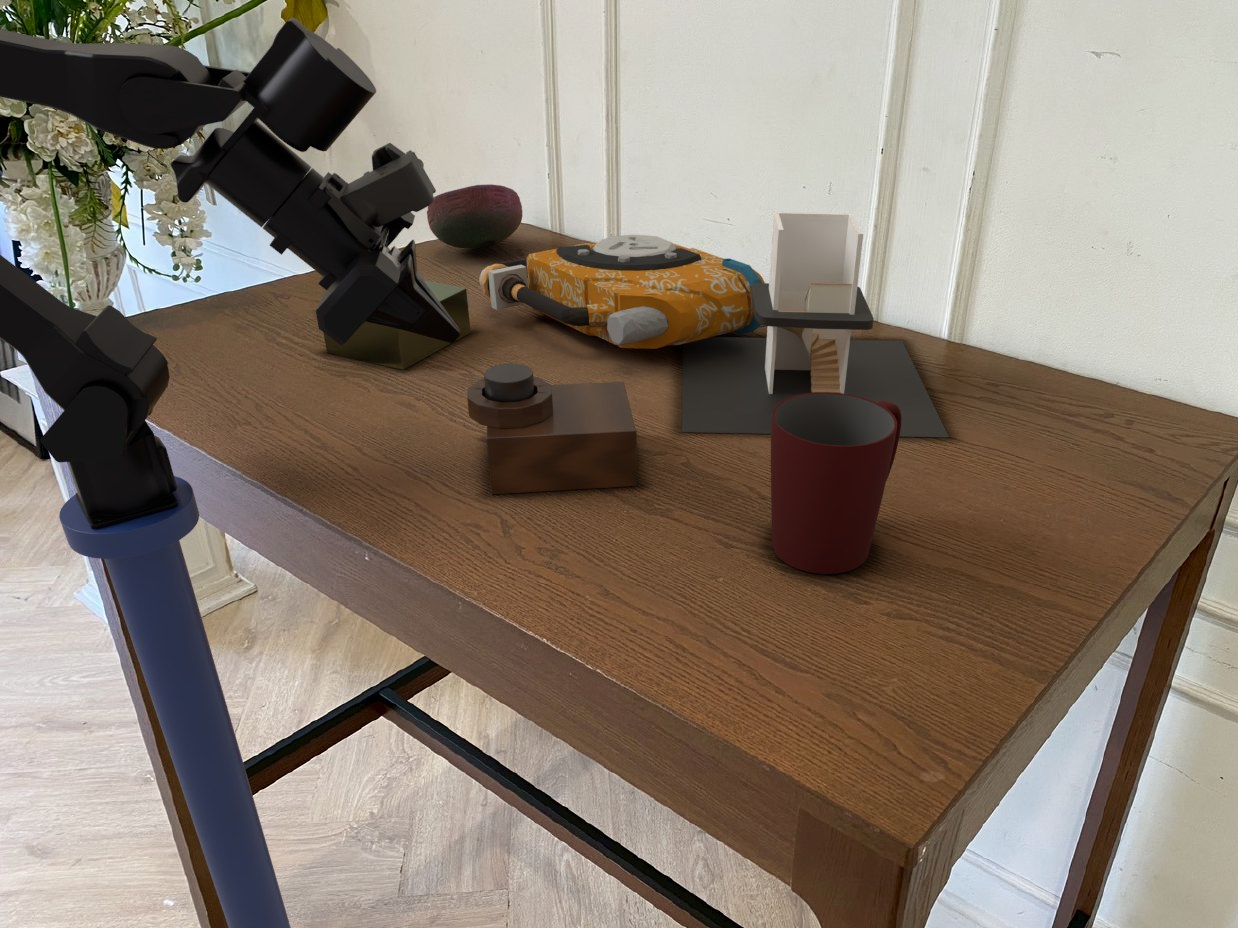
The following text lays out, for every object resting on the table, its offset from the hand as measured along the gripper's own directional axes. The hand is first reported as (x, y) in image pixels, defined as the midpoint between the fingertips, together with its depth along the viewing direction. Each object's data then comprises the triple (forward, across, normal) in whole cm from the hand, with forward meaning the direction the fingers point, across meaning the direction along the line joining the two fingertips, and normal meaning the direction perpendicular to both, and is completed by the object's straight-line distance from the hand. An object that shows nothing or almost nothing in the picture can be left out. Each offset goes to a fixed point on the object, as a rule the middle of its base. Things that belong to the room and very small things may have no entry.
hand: (456, 337), depth 81 cm
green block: (+3, +30, +14) cm, 33 cm away
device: (+20, +32, -3) cm, 38 cm away
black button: (+6, 0, +1) cm, 7 cm away
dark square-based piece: (+32, +15, -15) cm, 38 cm away
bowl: (+8, +60, +8) cm, 61 cm away
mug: (+28, -15, -12) cm, 34 cm away
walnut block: (+14, 0, +3) cm, 14 cm away
